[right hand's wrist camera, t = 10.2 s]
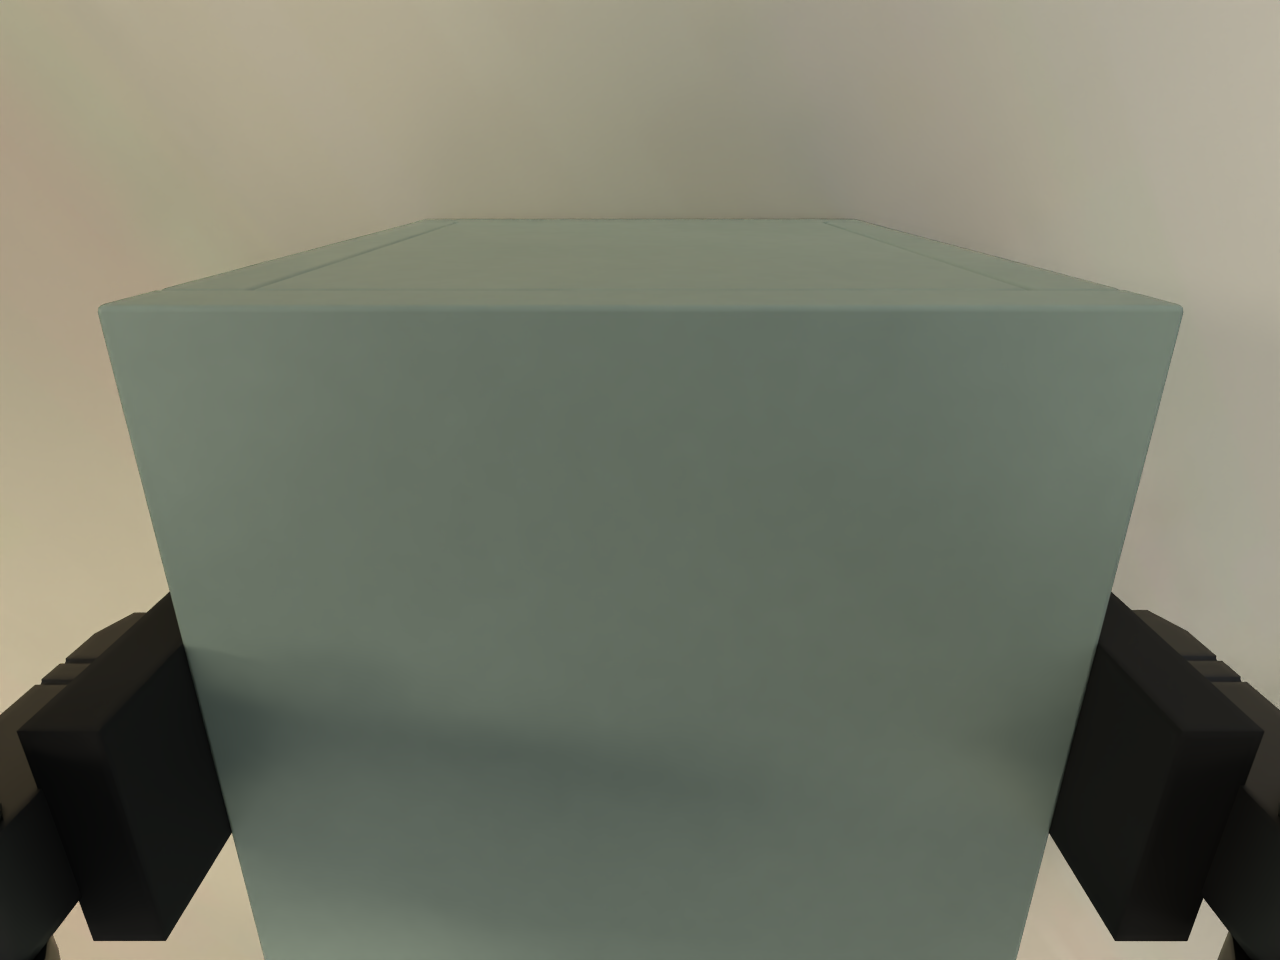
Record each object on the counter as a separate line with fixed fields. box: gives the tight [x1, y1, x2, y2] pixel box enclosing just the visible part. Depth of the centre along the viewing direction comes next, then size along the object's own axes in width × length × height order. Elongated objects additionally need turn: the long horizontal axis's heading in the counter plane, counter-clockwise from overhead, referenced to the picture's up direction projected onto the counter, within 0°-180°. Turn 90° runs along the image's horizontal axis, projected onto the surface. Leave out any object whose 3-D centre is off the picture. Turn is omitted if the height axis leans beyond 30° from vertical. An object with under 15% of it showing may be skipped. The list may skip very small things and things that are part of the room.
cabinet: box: [98, 219, 1183, 960], centre depth 16 cm, size 20×10×12 cm, turn 0°
